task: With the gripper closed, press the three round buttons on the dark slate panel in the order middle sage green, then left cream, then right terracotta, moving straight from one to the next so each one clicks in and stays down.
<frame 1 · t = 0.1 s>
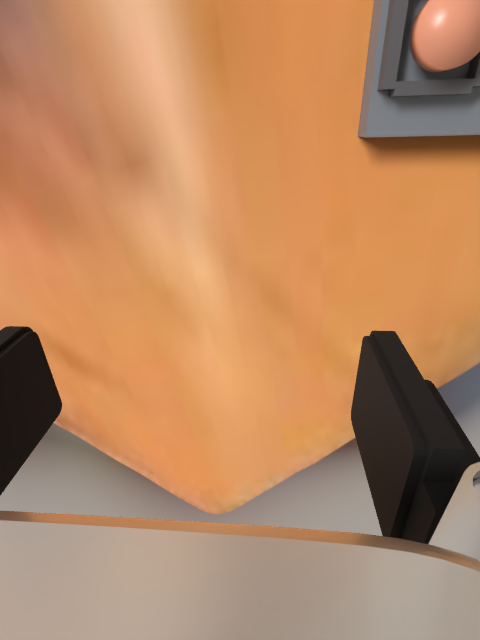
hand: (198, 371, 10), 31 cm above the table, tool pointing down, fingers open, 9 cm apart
terracotta button: (450, 28, 26), point 6 cm above the table, slide at 0.0 cm
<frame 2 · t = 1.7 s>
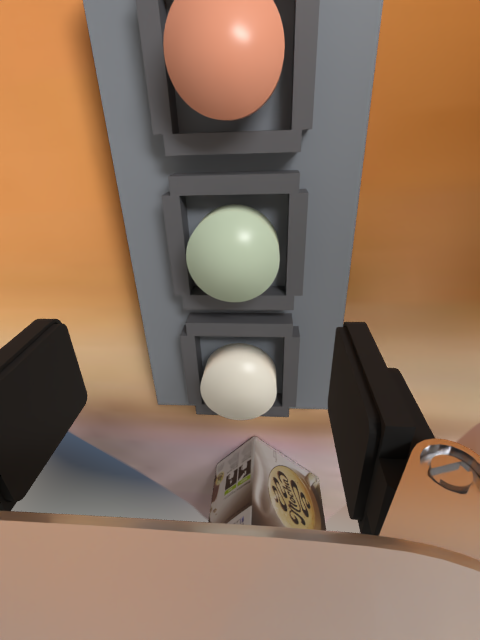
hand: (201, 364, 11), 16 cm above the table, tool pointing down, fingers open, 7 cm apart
sage button: (234, 254, 20), point 6 cm above the table, slide at 0.0 cm
terracotta button: (226, 54, 15), point 6 cm above the table, slide at 0.0 cm
button panel: (241, 228, 25), on the table
cream button: (239, 382, 24), point 6 cm above the table, slide at 0.0 cm
coffee box: (267, 470, 37), on the table
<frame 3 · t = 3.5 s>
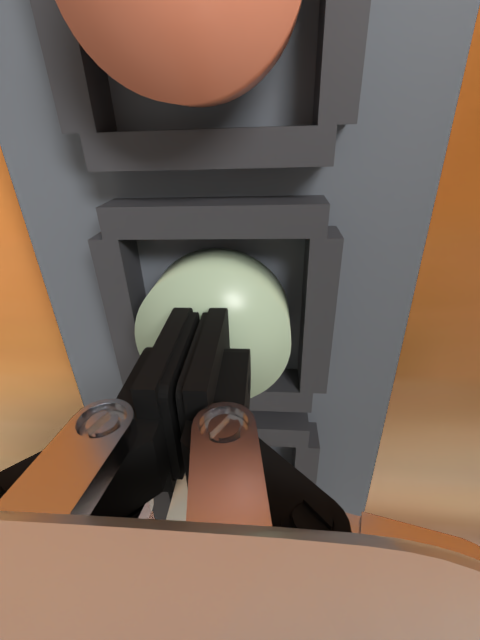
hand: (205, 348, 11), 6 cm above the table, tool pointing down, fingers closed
sage button: (216, 328, 12), point 5 cm above the table, slide at 0.7 cm, touching gripper
button panel: (231, 275, 16), on the table
cream button: (226, 509, 16), point 5 cm above the table, slide at 0.0 cm
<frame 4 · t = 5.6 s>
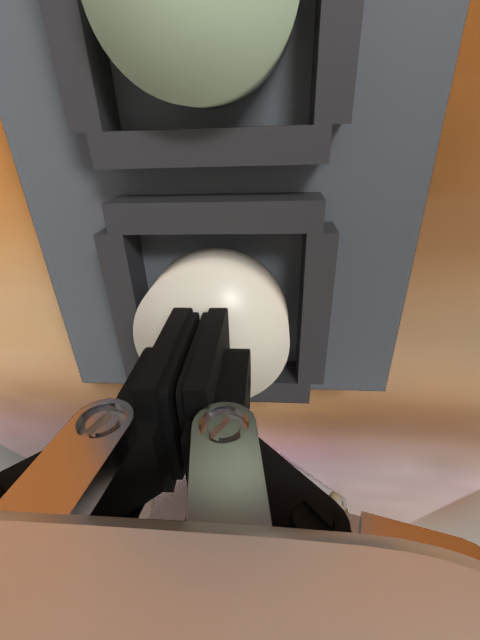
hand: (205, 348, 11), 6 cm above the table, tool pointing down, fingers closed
button panel: (220, 28, 12), on the table
cream button: (214, 327, 12), point 5 cm above the table, slide at 0.2 cm, touching gripper
coffee box: (269, 487, 25), on the table
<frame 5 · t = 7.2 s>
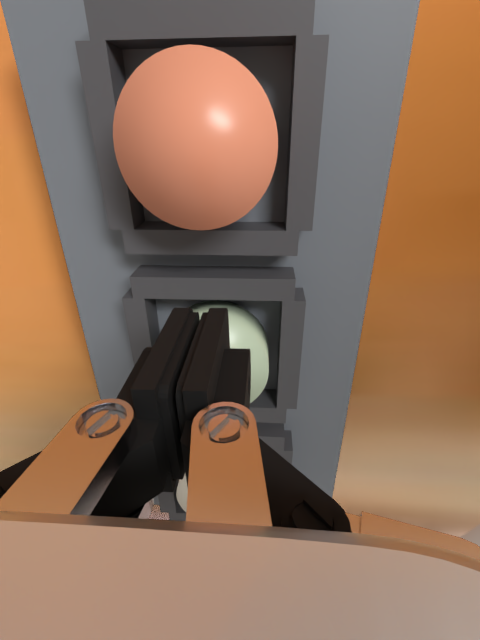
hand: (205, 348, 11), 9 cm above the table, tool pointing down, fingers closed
sage button: (215, 357, 17), point 4 cm above the table, slide at 1.0 cm
terracotta button: (200, 146, 12), point 6 cm above the table, slide at 0.0 cm
button panel: (224, 313, 21), on the table
cream button: (221, 483, 21), point 4 cm above the table, slide at 1.0 cm
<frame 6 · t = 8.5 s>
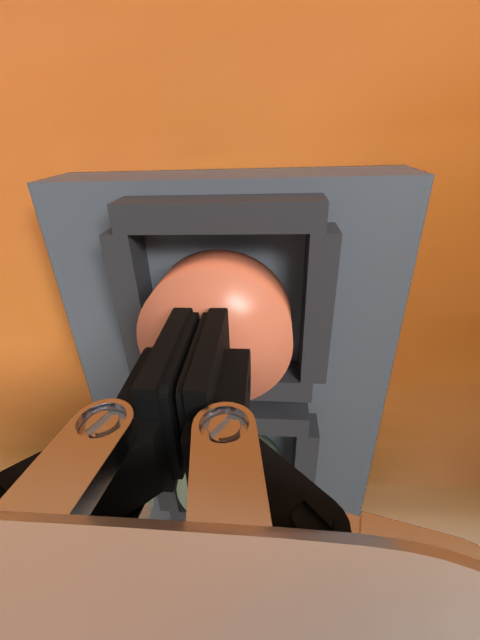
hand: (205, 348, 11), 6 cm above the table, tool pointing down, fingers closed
sage button: (231, 478, 17), point 4 cm above the table, slide at 1.0 cm
terracotta button: (218, 329, 12), point 5 cm above the table, slide at 0.1 cm, touching gripper
button panel: (239, 412, 21), on the table
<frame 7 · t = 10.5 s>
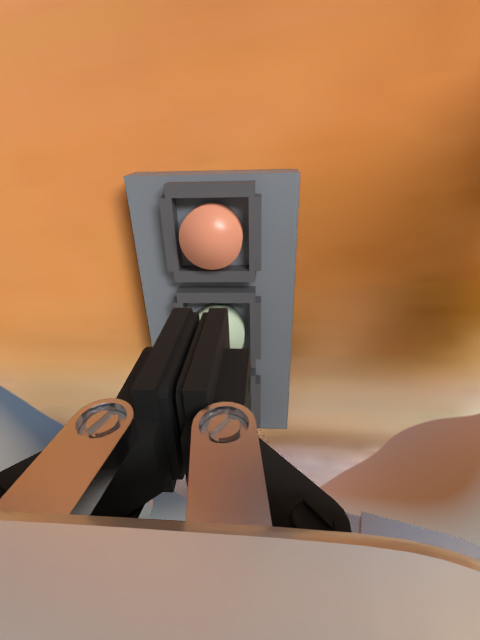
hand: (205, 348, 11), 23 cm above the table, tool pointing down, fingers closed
sage button: (217, 332, 33), point 4 cm above the table, slide at 1.0 cm
terracotta button: (211, 236, 29), point 4 cm above the table, slide at 1.0 cm
button panel: (222, 310, 37), on the table
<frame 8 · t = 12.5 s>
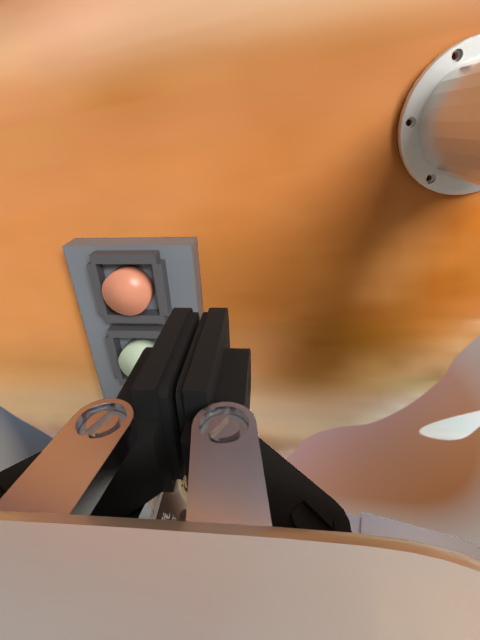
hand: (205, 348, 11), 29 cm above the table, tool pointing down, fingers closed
sage button: (142, 359, 43), point 4 cm above the table, slide at 1.0 cm
terracotta button: (128, 290, 38), point 4 cm above the table, slide at 1.0 cm
button panel: (153, 339, 46), on the table
coffee box: (187, 468, 58), on the table
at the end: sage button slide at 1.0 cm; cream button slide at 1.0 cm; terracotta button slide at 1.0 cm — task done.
